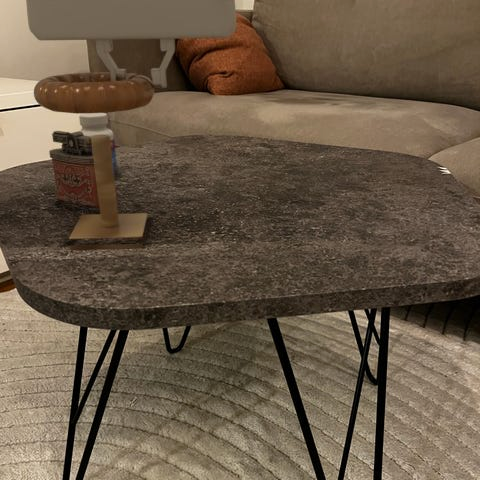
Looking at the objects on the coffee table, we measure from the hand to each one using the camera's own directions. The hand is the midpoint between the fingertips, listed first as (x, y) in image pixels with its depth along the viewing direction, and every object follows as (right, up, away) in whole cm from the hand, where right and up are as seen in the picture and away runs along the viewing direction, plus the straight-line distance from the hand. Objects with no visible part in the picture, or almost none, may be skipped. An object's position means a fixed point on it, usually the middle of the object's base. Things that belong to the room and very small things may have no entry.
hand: (140, 87), depth 61 cm
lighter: (-10, -10, +16) cm, 22 cm away
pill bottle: (-11, -3, +29) cm, 31 cm away
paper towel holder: (-5, -15, +8) cm, 17 cm away
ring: (-5, 0, 0) cm, 5 cm away
